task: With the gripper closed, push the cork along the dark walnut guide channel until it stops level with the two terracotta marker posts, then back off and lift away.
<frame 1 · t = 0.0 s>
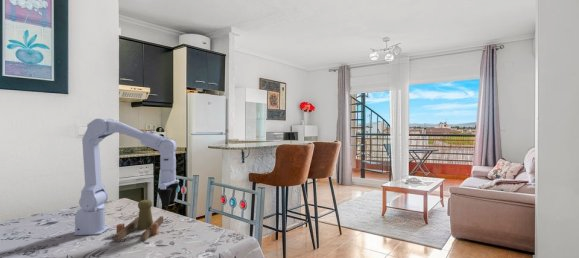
hand: (168, 203, 124), 10 cm above the table, tool pointing down, fingers open, 7 cm apart
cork: (145, 227, 126), on the table
guide channel: (141, 231, 122), on the table
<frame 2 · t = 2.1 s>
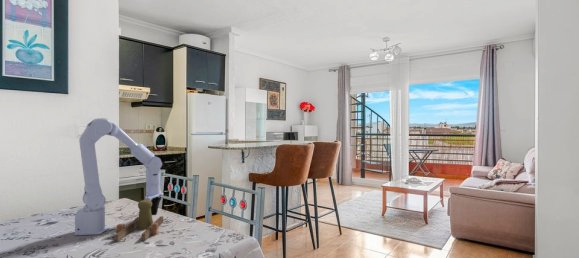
hand: (153, 214, 136), 2 cm above the table, tool pointing down, fingers closed
nothing on the table moved.
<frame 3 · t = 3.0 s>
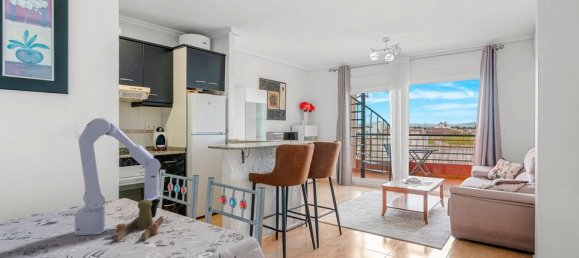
hand: (152, 217, 135), 2 cm above the table, tool pointing down, fingers closed
nothing on the table moved.
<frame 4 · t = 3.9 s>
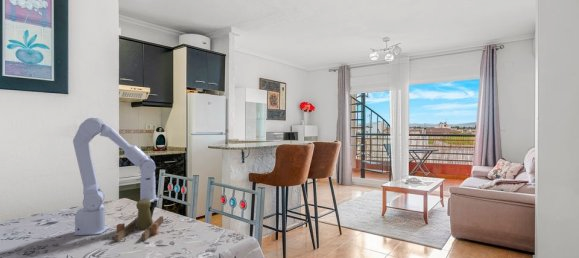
hand: (148, 220, 130), 2 cm above the table, tool pointing down, fingers closed
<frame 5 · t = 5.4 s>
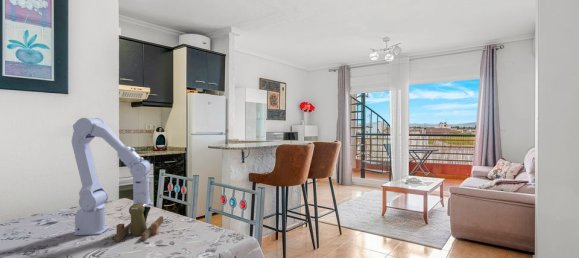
hand: (142, 226, 123), 2 cm above the table, tool pointing down, fingers closed, pressing on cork
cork: (139, 232, 120), on the table, touching gripper
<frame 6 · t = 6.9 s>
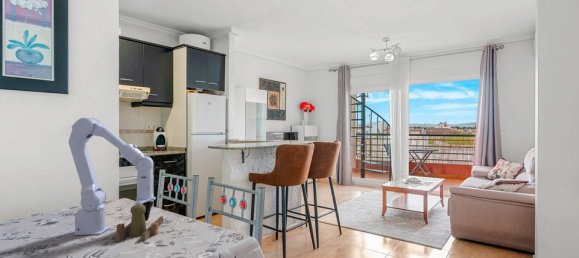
hand: (145, 220, 126), 3 cm above the table, tool pointing down, fingers closed
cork: (138, 234, 119), on the table
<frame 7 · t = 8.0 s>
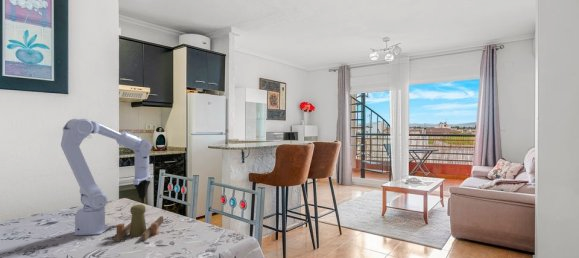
hand: (142, 197, 137), 9 cm above the table, tool pointing down, fingers closed
nothing on the table moved.
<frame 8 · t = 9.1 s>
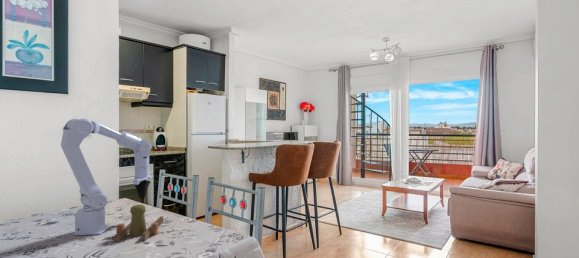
hand: (142, 197, 137), 9 cm above the table, tool pointing down, fingers closed
nothing on the table moved.
at the end: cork 1.1 cm from the target spot, on the table; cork tilted 0°; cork moved 7.4 cm from its start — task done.
